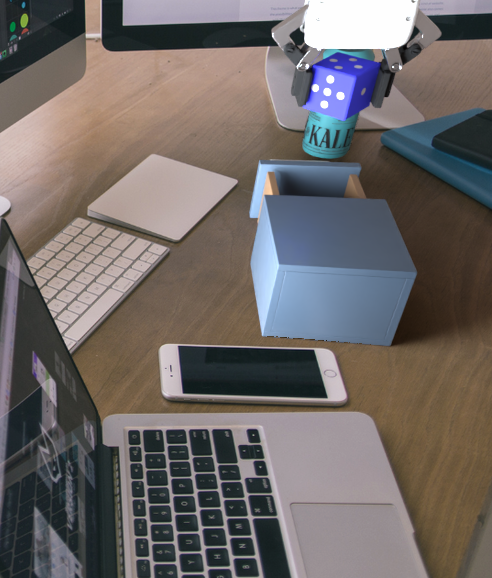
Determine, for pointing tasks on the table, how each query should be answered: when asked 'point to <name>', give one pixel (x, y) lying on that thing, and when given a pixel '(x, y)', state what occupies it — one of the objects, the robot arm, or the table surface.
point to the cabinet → (330, 269)
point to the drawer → (305, 180)
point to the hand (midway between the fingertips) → (336, 100)
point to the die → (342, 85)
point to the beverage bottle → (332, 122)
